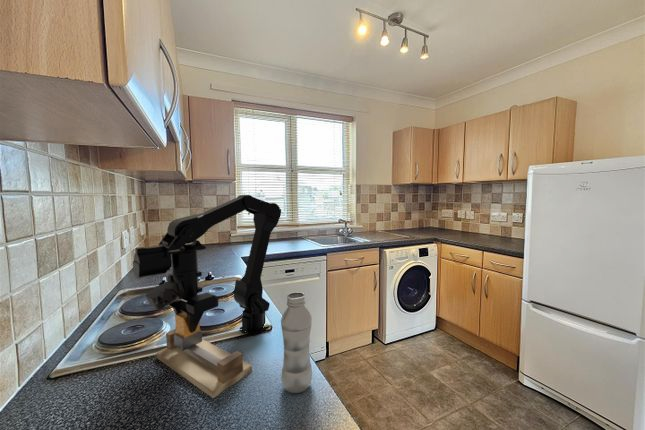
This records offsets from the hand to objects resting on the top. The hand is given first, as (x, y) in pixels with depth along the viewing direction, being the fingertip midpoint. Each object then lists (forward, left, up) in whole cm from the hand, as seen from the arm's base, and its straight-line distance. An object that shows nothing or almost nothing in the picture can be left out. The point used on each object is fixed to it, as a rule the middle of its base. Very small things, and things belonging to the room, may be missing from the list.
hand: (187, 329), depth 67 cm
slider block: (0, 0, -4) cm, 4 cm away
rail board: (0, +6, -7) cm, 9 cm away
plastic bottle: (-7, +30, -7) cm, 32 cm away
